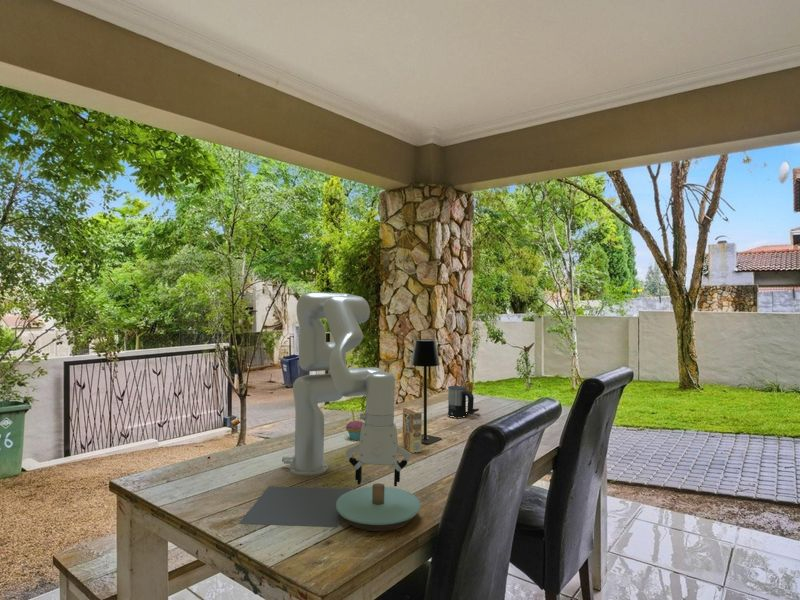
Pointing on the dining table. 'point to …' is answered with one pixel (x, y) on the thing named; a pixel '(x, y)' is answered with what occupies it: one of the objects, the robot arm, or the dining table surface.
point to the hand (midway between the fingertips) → (377, 483)
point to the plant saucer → (378, 527)
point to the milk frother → (459, 401)
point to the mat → (296, 507)
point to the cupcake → (354, 428)
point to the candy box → (412, 429)
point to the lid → (378, 505)
